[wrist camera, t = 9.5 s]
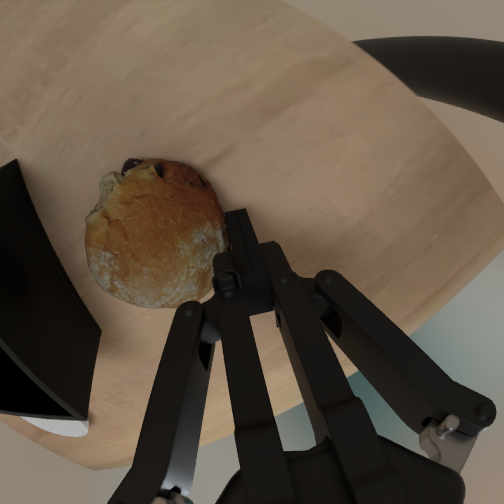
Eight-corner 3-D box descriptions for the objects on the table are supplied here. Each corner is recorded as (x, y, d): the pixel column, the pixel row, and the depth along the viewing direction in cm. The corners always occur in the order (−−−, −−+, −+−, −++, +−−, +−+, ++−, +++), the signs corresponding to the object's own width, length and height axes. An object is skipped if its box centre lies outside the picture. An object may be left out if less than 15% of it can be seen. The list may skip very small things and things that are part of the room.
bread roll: (113, 242, 24) (108, 329, 20) (73, 154, 15) (40, 265, 11) (222, 232, 25) (234, 320, 21) (227, 136, 17) (246, 248, 13)
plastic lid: (37, 375, 27) (33, 390, 25) (106, 420, 35) (105, 433, 33) (-1, 387, 28) (-4, 400, 26) (58, 426, 36) (57, 438, 34)
